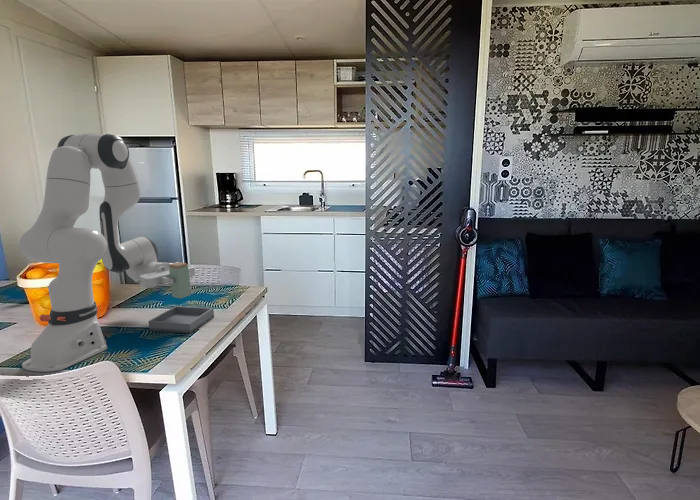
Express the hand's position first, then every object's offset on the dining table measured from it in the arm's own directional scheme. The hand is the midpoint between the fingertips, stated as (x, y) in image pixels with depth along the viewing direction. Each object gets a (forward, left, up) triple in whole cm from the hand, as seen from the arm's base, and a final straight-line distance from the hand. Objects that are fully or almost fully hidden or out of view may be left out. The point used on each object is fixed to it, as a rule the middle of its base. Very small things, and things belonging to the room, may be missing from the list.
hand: (181, 278), depth 145 cm
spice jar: (0, +1, -7) cm, 7 cm away
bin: (-1, +1, -17) cm, 17 cm away
